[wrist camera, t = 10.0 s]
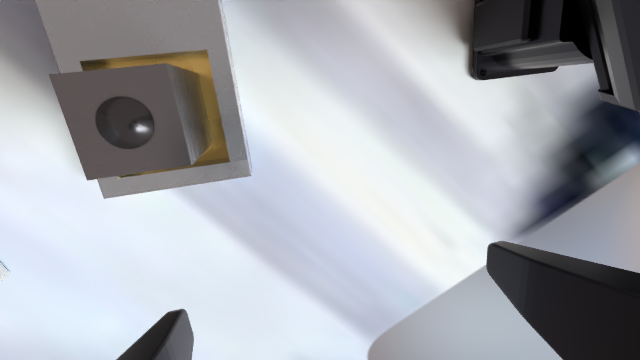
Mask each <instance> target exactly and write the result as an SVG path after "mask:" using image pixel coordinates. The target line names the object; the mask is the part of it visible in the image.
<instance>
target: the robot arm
mask: <svg viewBox="0 0 640 360" xmlns="http://www.w3.org/2000/svg"><path fill="white" fill-rule="evenodd" d="M473 48H474V49H473V78H474V79H475V80H488V79H497V78H505V77H513V76H521V75H529V74H538V73H546V72H553V71H555V70H556V69H557V68H558V67H559V66H566V65H577V64H588V63H594V66H595V70H596V74H597V78H598V82H599V86H600V89H599V90H598V92H599V96H600V100H602V101H606V102H609V103H612V104H616V105H619V106H622V107H626V108H629V109H632V110H636V111H639V113H640V0H475V14H474V39H473ZM480 70H482V75H480ZM486 267H487V270H488V273H489V275H490V276H491V277H492V279H493V280H494V281H495V283H496V284H497V285H498V286H499V287H500V289H501V290H502V291H503V293H504V294H505V295H506V296H507V298H508V299H509V300H510V301H511V303H512V304H513V305H514V307H515V308H516V309H517V310H518V311H519V313H520V314H521V315H522V316H523V317H524V319H526V321H527V322H528V323H529V324H530V325H531V326H532V327H533V328H534V329H535V331H537V333H538V334H539V335H540V336H541V337H542V338H543V339H544V340H545V341H546V342H547V343H548V344H549V345H550V346H551V347H552V348H553V350H554V351H555V352H556V353H557V354H558V355H559V356H560V357H561V358H562V359H563V360H640V273H636V272H632V271H628V270H624V269H619V268H615V267H611V266H607V265H603V264H598V263H594V262H590V261H586V260H581V259H577V258H573V257H569V256H564V255H560V254H556V253H551V252H548V251H543V250H539V249H535V248H531V247H526V246H522V245H518V244H514V243H510V242H505V241H499V242H494V243H491V244H489V246H488V249H487V265H486ZM193 343H194V337H193V331H192V328H191V325H190V321H189V318H188V314H187V312H186V310H184V309H179V310H174V311H170V312H168V313H166V314H165V315H164V316H163V317H162V318H161V319H160V320H159V321H158V322H157V323H155V324H154V325H153V326H152V327H151V328H150V329H149V330H148V331H147V332H146V333H145V334H144V335H142V336H141V337H140V338H139V339H138V340H137V341H136V342H135V343H134V344H133V345H132V346H131V347H129V348H128V349H127V350H126V351H125V352H124V353H123V354H122V355H121V356H120V357H119V358H118V359H116V360H191V359H192V351H193Z"/></svg>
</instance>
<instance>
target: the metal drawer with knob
mask: <svg viewBox="0 0 640 360" xmlns="http://www.w3.org/2000/svg"><path fill="white" fill-rule="evenodd" d="M49 76H50V78H51V81H52V84H53V87H54V90H55V92H56V95H57V98H58V101H59V103H60V106H61V109H62V112H63V115H64V117H65V120H66V123H67V126H68V128H69V131H70V134H71V137H72V139H73V142H74V145H75V148H76V151H77V153H78V156H79V159H80V162H81V164H82V167H83V170H84V173H85V176H86V178H87V180H93V179H100V178H107V177H114V176H121V175H127V174H134V173H141V172H148V171H155V170H162V169H169V168H175V167H182V166H189V165H192V164H193V163H194V162H195V161H196V160H197V159H198V158H199V157H200V156H201V155H202V154H203V153H204V152H205V151H206V150H207V149H208V148H209V147H210V146H211V145H212V144H213V138H212V134H211V129H210V125H209V120H208V116H207V111H206V106H205V102H204V97H203V93H202V88H201V84H200V79H199V75H198V73H196V72H193V71H190V70H187V69H183V68H180V67H177V66H174V65H171V64H168V63H162V64H152V65H142V66H132V67H121V68H111V69H101V70H90V71H80V72H70V73H60V74H49Z"/></svg>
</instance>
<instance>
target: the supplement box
mask: <svg viewBox="0 0 640 360" xmlns="http://www.w3.org/2000/svg"><path fill="white" fill-rule="evenodd" d="M9 274H10V273H9V271H8V270H7V269H6V268H5V267H4V266H3V265H2V264H1V262H0V281H1V280H3V279H4V278H5V277H6V276H8V275H9Z"/></svg>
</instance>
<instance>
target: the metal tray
mask: <svg viewBox="0 0 640 360" xmlns="http://www.w3.org/2000/svg"><path fill="white" fill-rule="evenodd" d="M35 2H36V5H37V8H38V11H39V14H40V17H41V19H42V22H43V25H44V28H45V31H46V34H47V37H48V39H49V42H50V45H51V48H52V51H53V54H54V57H55V60H56V62H57V65H58V68H59V71H60V73H70V72H80V71H90V70H101V69H111V68H121V67H132V66H142V65H152V64H162V63H168V64H171V65H174V66H177V67H180V68H183V69H187V70H190V71H193V72H196V73H198V75H199V79H200V84H201V88H202V93H203V97H204V102H205V106H206V111H207V116H208V120H209V125H210V129H211V134H212V138H213V144H212V145H211V146H210V147H209V148H208V149H207V150H206V151H205V152H204V153H203V154H202V155H201V156H200V157H199V158H198V159H197V160H196V161H195V162H194V163H193V164H192V165H189V166H182V167H175V168H169V169H162V170H155V171H148V172H141V173H134V174H127V175H121V176H114V177H107V178H100V179H97V180H98V183H99V186H100V189H101V192H102V194H103V197H104V199H105V198H111V197H118V196H124V195H131V194H137V193H144V192H150V191H157V190H163V189H170V188H176V187H183V186H189V185H196V184H202V183H209V182H215V181H222V180H228V179H234V178H241V177H247V176H251V171H252V165H251V159H250V154H249V148H248V143H247V138H246V132H245V127H244V121H243V116H242V110H241V105H240V99H239V94H238V89H237V83H236V78H235V72H234V67H233V61H232V56H231V51H230V45H229V40H228V34H227V29H226V23H225V18H224V13H223V7H222V2H221V0H35Z"/></svg>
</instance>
